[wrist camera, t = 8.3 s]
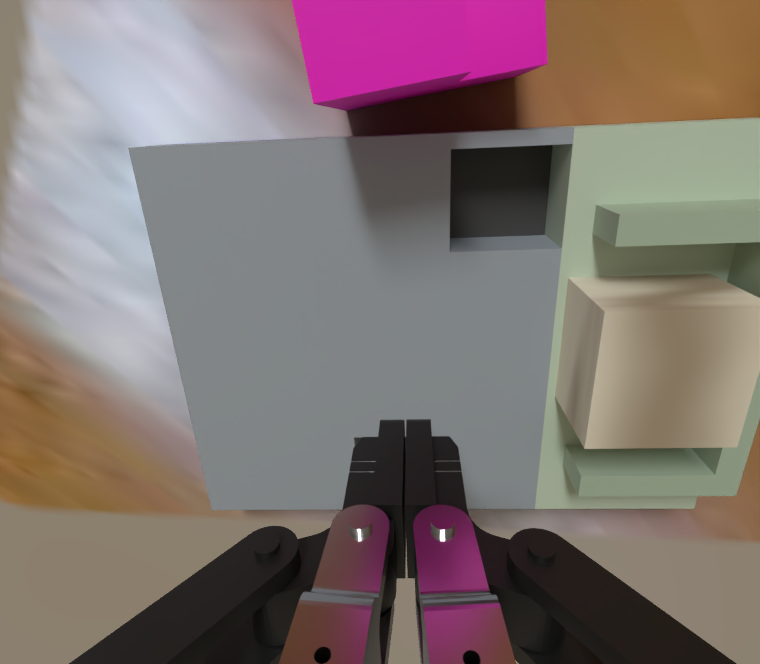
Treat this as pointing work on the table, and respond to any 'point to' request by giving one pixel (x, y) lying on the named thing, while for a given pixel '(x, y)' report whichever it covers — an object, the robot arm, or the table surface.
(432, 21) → the toy block
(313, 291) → the board
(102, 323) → the table surface
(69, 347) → the table surface
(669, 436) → the birch block
